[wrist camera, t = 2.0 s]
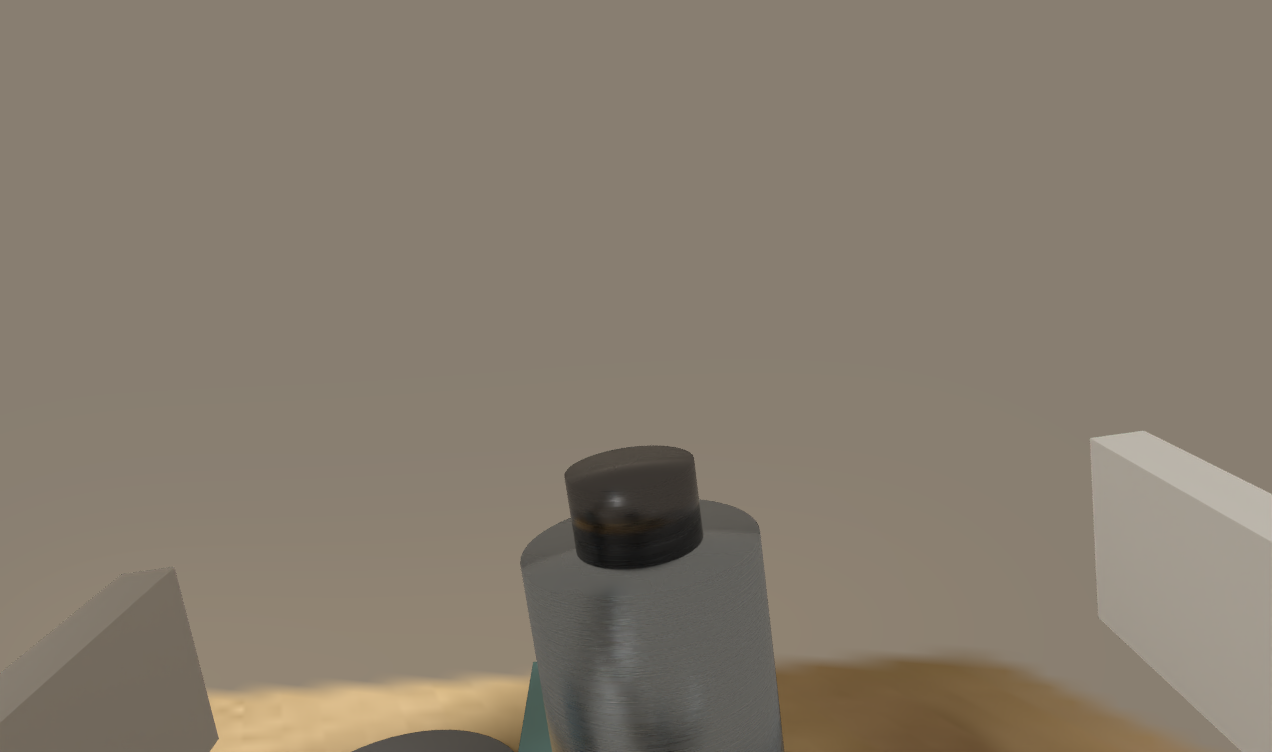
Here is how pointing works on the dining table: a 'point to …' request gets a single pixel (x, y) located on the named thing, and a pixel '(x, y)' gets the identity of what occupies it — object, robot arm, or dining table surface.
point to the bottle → (651, 614)
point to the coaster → (437, 743)
